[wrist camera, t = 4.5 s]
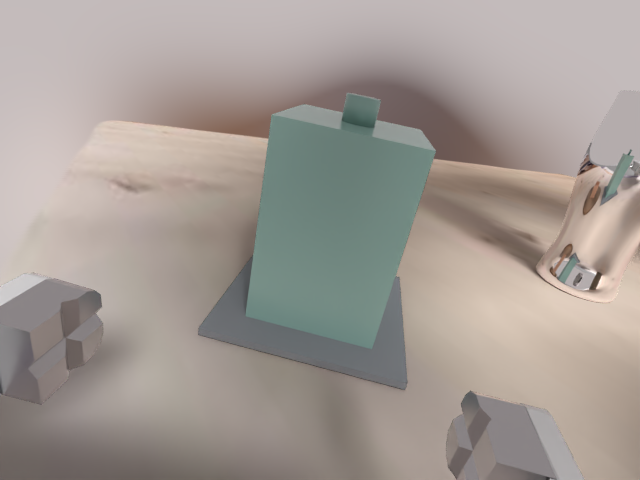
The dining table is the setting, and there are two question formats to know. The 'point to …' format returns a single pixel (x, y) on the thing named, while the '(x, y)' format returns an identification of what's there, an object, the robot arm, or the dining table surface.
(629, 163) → the shiny silver metal cup
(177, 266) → the dining table surface
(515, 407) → the robot arm
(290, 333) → the mat
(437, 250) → the dining table surface
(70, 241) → the dining table surface
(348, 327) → the teal knobbed box
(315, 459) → the dining table surface
